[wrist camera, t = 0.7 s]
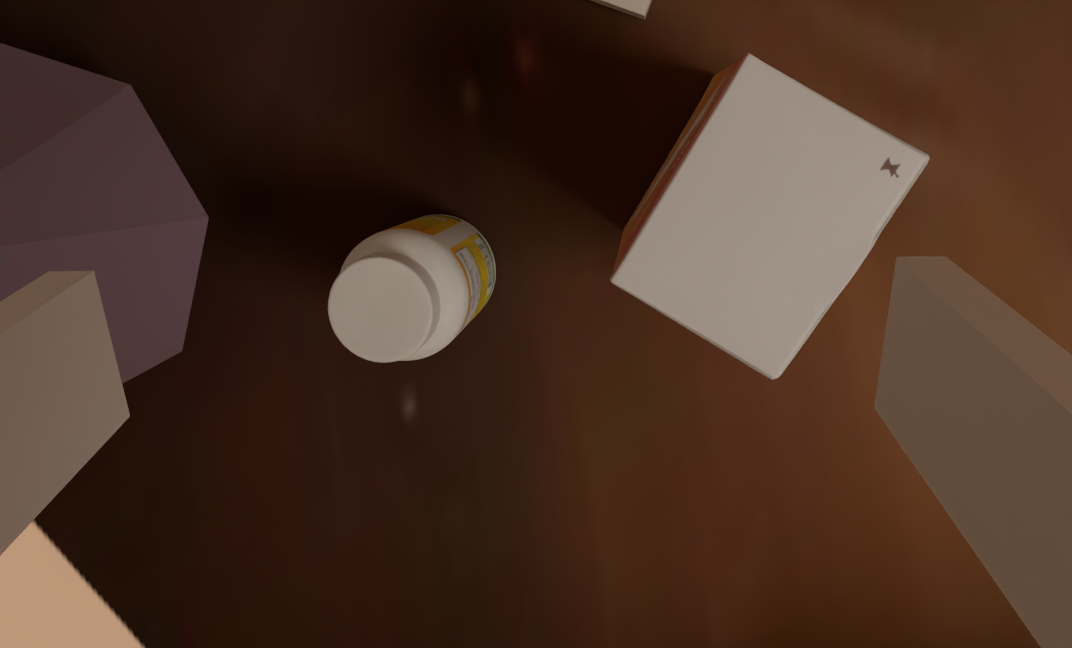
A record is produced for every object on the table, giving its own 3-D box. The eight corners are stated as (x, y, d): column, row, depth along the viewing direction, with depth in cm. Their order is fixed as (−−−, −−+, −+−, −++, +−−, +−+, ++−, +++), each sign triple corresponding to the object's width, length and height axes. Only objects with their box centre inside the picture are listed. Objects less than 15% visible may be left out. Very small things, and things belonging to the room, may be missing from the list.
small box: (713, 71, 37) (748, 43, 24) (840, 145, 37) (940, 156, 24) (617, 232, 39) (604, 283, 26) (737, 302, 39) (781, 387, 26)
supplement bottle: (519, 259, 40) (481, 300, 31) (454, 345, 41) (398, 410, 32) (428, 188, 40) (361, 208, 30) (365, 277, 41) (283, 322, 32)
